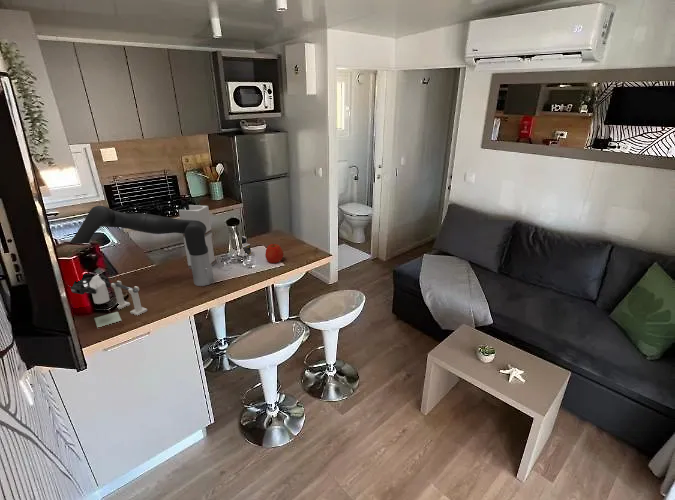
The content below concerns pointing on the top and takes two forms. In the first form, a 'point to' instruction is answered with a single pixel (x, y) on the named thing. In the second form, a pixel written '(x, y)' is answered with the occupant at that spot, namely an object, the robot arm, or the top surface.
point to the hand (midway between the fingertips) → (102, 288)
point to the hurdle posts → (122, 303)
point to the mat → (107, 319)
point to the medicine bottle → (246, 245)
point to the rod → (125, 287)
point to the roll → (99, 290)
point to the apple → (274, 253)
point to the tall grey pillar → (203, 216)
